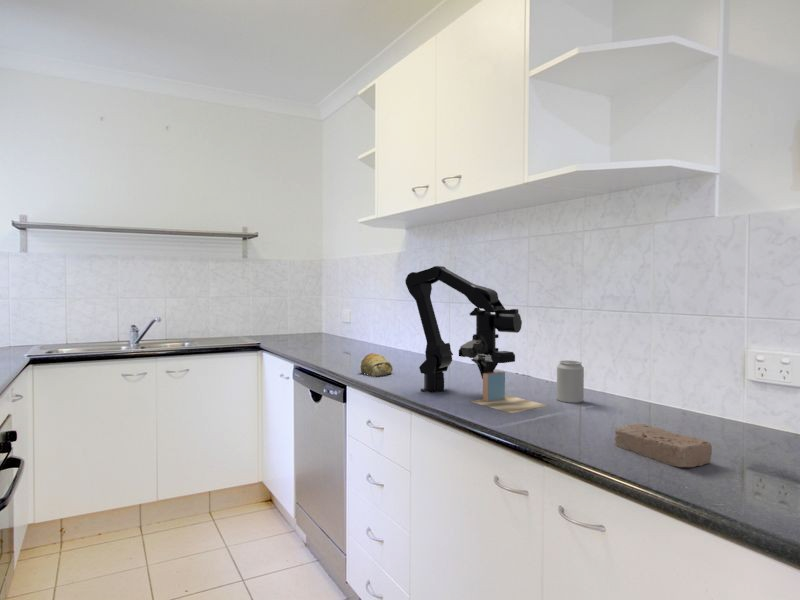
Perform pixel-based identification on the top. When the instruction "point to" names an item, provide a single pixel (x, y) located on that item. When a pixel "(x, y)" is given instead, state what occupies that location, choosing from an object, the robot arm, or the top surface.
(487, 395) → the tile
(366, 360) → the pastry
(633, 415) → the top surface
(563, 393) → the can
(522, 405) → the board
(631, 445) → the brick
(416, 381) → the top surface
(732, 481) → the top surface
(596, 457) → the top surface
